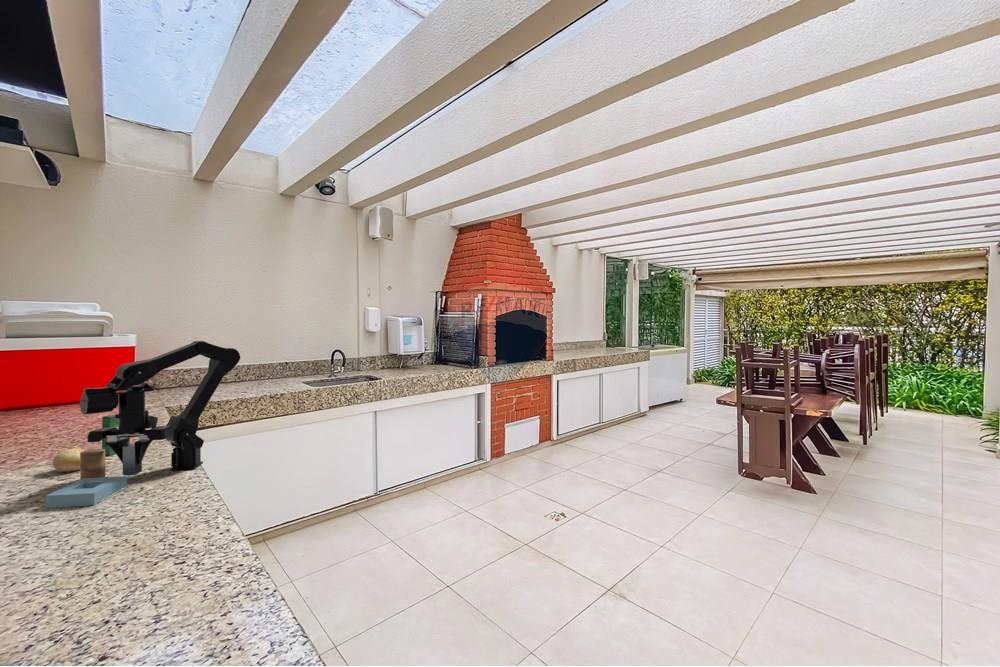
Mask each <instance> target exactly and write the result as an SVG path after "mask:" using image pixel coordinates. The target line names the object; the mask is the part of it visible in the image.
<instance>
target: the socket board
mask: <svg viewBox="0 0 1000 667" xmlns="http://www.w3.org/2000/svg"><path fill="white" fill-rule="evenodd" d="M126 486H127V487H128V475H122V476H106V477H99V478H83V479H81V480H80V479H79V480H77V481H74V482H72V483H70V484H68V485H66V486H64V487H61V488H60V489H57V490H55V491H53V492H50V493H49V494H46V495H45V508H46V509H53V508H55V507H58V508H70V507H69V506H76V507H89V506H88V505H94V506H96V505H97V503H98V502H100V501H101V500H103V499H105V498H107V497H108V496H110V495H112V494H113V493H115V492H117V491H119V490H121V489H122V488H124V487H126ZM121 491H122V490H121ZM112 496H113V495H112ZM107 499H108V498H107ZM105 500H106V499H105ZM103 501H104V500H103ZM100 503H101V502H100ZM95 504H96V505H95ZM98 504H99V503H98ZM55 509H56V508H55Z"/></svg>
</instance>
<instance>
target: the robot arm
mask: <svg viewBox="0 0 1000 667" xmlns="http://www.w3.org/2000/svg"><path fill="white" fill-rule="evenodd" d="M199 355H200V356H202V357H205V358H208V359H209V361H208V368H207V371H206V374H205V376H204V377H203V378H202V380H201V381H200V384H199V385H198V386H197V388H196V390H195V392H194V393H193V395H192V396H191V398H190V400H189V401H188V403H187V405H186V406H185V408H184V409H183V411H182V412H181V413H179V414H178V415H177V416H176V415H171V416H170V417H169V420H168V422H167V423H166V425H158V426H157V424H158V420H159V417H157V416H154V415H150V414H149V410H148V409H147V410H146V393H147V392H154V391H155V388H154V387H152V386H150V385H149V383H147V382H148V381H149V380H151V379H152V378H154V377H155V376H156V375H157V374H159V373H160V372H161V371H162V372H163V371H164V370H167V369H169V368H171V367H173V366H176V365H178V364H180V363H182V362H186V361H188V360H191V359H193V358H195V357H198V356H199ZM240 360H241V355H240V352H239V351H238V350H237V349H236V348H232V347H222V346H218V345H215V344H212V343H209V342H208V341H204V340H195V341H192V342H191V343H189V344H186V345H183V346H181V347H178V348H175V349H172V350H171V351H168V352H166V353H165V352H164V353H163V354H160V355H158V356H154V357H152V358H148V359H144V360H143V359H142V360H136V361H131V362H128V363H123V364H121V365H120V366H118V367H117V369H116V371H115V375H114V376H113V377H112V379H110V380H109V382H108V383H107V384H106V385H105V387H95V388H93V387H87V388H83V390H82V391H83V393H82V394H81V397H80V400H79V406H80V407H79V408H80V412H81V414H82V415H83V416H87V415H92V414H102V413H108V412H109V413H110V412H113V411H114V409H117V407H118V413H115V414H116V415H115V418H119V429H116V428H115V427H109V428H102V427H100V428H97V429H93V430H91V431H89V432H88V433H87V436H86V437H87V438H86V439H87V441H86V442H87V443H99V442H102V439H104V438H107V442H106V443H105V445H109V446H110V447H111V448H112V449H113V451H114V452H115V453H116V454H115V455H116V456H117V458H118V459H119V460H120V461H121V463H122V464H123V446H125V445H128V442H129V439H130V440H131V438H138V437H139V439H138V440H136V441H134V443H133V444H135V454H136V462H137V464H141V462H142V463H143V459H144V457H145V455H146V452H147V450H148V448H149V446H150V445H151V443H152V442H153V441H164V440H166V441H167V442H168V443H170V445H171V447H173V448H172V452H171V453H170V454H171V455H170V456H171V457H170V459H171V460H170V462H171V463H170V464H171V465H170V466H171V467H170V468H169V471H185V470H187V471H189V470H194V469H196V468H199V466H201V465H203V464H204V461H201V460H202V458H201V455H202V453H201V450H202V449H201V448H203V445H204V442H205V440H204V439H203V438H201V437H200V436H198V435H197V432H198V430H199V422H200V418H201V415H202V413H203V412H204V410H205V409H206V407H207V405H208V403H209V402H210V400H211V398H212V397H213V395H214V394H215V392H216V390H217V389H218V386H219V385H220V383H221V382H222V381H223V378H224V377H225V376H226V375H228V373H231V371H232V370H234V368H235V367H236V366H237V365H238V364H239V362H240ZM200 464H201V465H200Z"/></svg>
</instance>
